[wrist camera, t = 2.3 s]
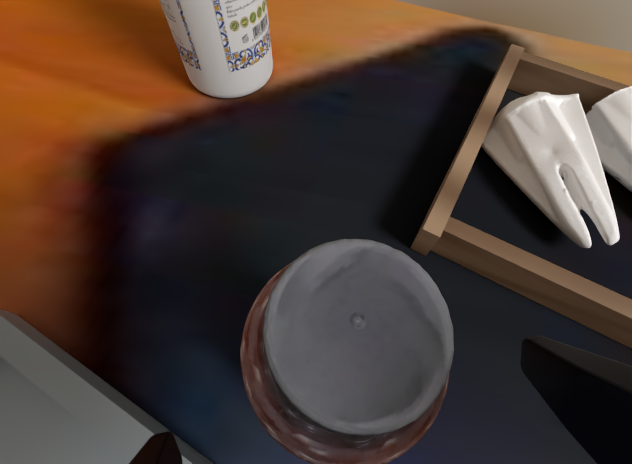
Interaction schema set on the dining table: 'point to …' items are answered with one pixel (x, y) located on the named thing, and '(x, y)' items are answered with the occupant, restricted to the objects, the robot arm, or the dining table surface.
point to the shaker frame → (503, 258)
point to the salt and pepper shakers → (566, 157)
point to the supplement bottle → (348, 353)
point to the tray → (65, 407)
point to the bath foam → (222, 44)
